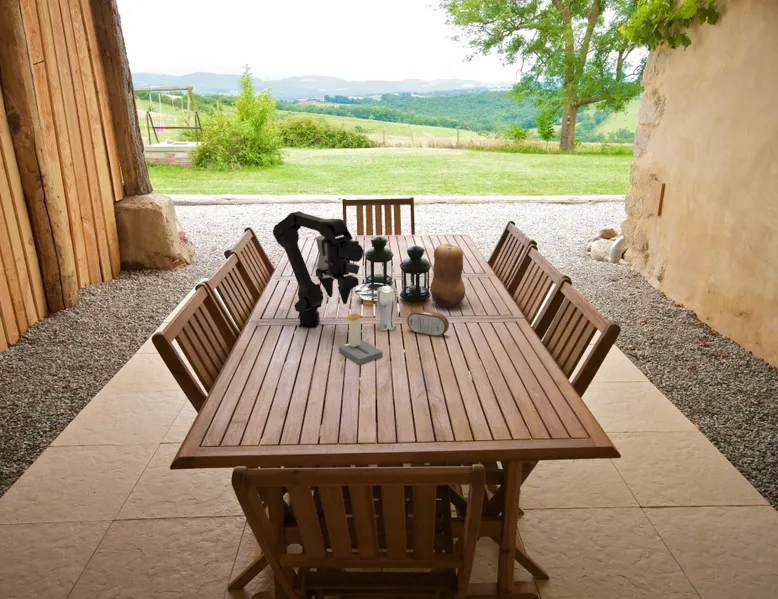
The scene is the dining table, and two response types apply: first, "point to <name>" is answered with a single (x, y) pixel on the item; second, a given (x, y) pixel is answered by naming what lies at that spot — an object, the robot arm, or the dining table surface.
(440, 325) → the tin
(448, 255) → the butternut squash
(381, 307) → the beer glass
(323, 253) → the coffeepot
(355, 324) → the lever
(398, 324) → the dining table surface
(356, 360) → the switch plate
